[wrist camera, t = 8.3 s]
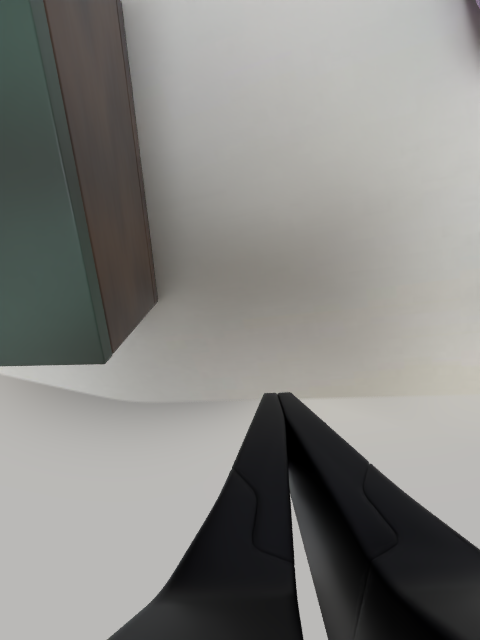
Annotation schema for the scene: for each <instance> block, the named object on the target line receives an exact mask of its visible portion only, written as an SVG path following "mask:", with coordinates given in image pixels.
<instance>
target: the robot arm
mask: <svg viewBox="0 0 480 640" xmlns="http://www.w3.org/2000/svg"><path fill="white" fill-rule="evenodd" d="M290 494H291V498H292V502H293V506H294V510H295V514H296V517H297V521H298V525H299V529H300V533H301V536H302V540H303V544H304V548H305V552H306V555H307V560H308V563H309V567H310V571H311V575H312V578H313V583H314V586H315V590H316V594H317V598H318V602H319V606H320V609H321V613H322V617H323V621H324V625H325V629H326V632H327V636H328V640H480V550H479V549H478V548H477V547H475V546H474V545H473V544H472V543H470V542H469V541H468V540H466V539H465V538H464V537H462V536H461V535H460V534H458V533H457V532H456V531H454V530H453V529H452V528H450V527H449V526H448V525H446V524H445V523H444V522H442V521H441V520H440V519H439V518H437V517H436V516H434V515H433V514H432V513H431V512H429V511H428V510H427V509H425V508H424V507H423V506H421V505H420V504H419V503H417V502H416V501H415V500H414V499H412V498H411V497H410V496H409V495H407V494H406V493H404V491H402V490H401V489H400V488H399V487H397V486H396V485H395V484H394V483H393V482H392V481H390V480H389V479H388V478H387V477H386V476H384V475H383V474H382V473H381V472H380V471H379V470H378V469H376V468H375V467H374V466H373V465H372V464H369V462H368V461H367V460H366V459H365V458H364V457H363V456H362V455H361V454H359V453H358V452H357V451H356V450H355V449H354V448H353V447H352V446H350V445H349V444H348V443H347V442H346V441H345V440H344V439H343V438H341V437H340V436H339V435H338V434H337V433H336V432H335V431H334V430H332V429H331V428H330V427H329V426H328V425H327V424H326V423H325V422H323V421H322V420H321V419H320V418H319V417H318V416H317V415H315V413H313V412H312V411H311V410H310V409H309V408H308V407H307V406H305V405H304V404H303V403H302V402H301V401H300V400H299V399H298V398H297V397H295V396H294V395H293V394H292V393H290V392H285V393H278V395H277V394H276V393H265V394H264V395H263V397H262V399H261V402H260V404H259V407H258V409H257V411H256V413H255V416H254V418H253V420H252V423H251V425H250V427H249V429H248V432H247V434H246V436H245V439H244V441H243V444H242V446H241V448H240V450H239V453H238V455H237V457H236V460H235V462H234V465H233V467H232V470H231V471H230V473H229V476H228V478H227V480H226V483H225V485H224V487H223V489H222V491H221V493H220V495H219V497H218V499H217V501H216V502H215V504H214V506H213V508H212V510H211V511H210V513H209V515H208V517H207V518H206V520H205V522H204V523H203V525H202V527H201V528H200V530H199V532H198V533H197V535H196V537H195V538H194V540H193V541H192V543H191V545H190V547H189V548H188V550H187V551H186V553H185V555H184V556H183V558H182V560H181V561H180V563H179V565H178V566H177V568H176V569H175V571H174V573H173V574H172V576H171V577H170V579H169V580H168V582H167V583H166V585H165V586H164V587H163V589H162V590H161V591H160V592H159V594H158V595H157V596H156V597H155V598H154V599H153V600H152V601H151V602H150V603H149V604H148V605H147V606H146V607H145V608H144V609H143V610H141V611H140V612H139V613H138V614H137V615H135V616H134V617H133V618H132V619H131V620H130V621H128V622H127V623H126V624H125V625H124V626H123V627H121V628H120V629H119V630H118V631H117V632H116V633H114V634H113V635H112V636H111V637H110V638H109V639H107V640H303V634H302V627H301V621H300V615H299V608H298V600H297V590H296V579H295V568H294V550H293V549H294V548H293V533H292V518H291V502H290Z"/></svg>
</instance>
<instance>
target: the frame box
mask: <svg viewBox="0 0 480 640" xmlns="http://www.w3.org/2000/svg"><path fill="white" fill-rule="evenodd" d="M43 3H44V8H45V13H46V18H47V23H48V28H49V34H50V39H51V44H52V49H53V54H54V59H55V64H56V69H57V74H58V80H59V85H60V90H61V95H62V100H63V105H64V110H65V115H66V120H67V126H68V131H69V136H70V141H71V146H72V151H73V156H74V161H75V166H76V171H77V177H78V182H79V187H80V192H81V197H82V202H83V207H84V212H85V217H86V223H87V228H88V233H89V238H90V243H91V248H92V253H93V258H94V263H95V269H96V274H97V279H98V284H99V289H100V294H101V299H102V304H103V309H104V315H105V320H106V325H107V330H108V335H109V340H110V345H111V350H112V354H113V353H114V352H115V351H116V350H117V349H118V347H119V346H120V345H121V344H122V343H123V342H124V340H125V339H126V338H127V337H128V336H129V335H130V333H131V332H132V331H133V330H134V329H135V327H136V326H137V325H138V324H139V323H140V322H141V320H142V319H143V318H144V317H145V316H146V314H147V313H148V312H149V311H150V310H151V309H152V307H153V306H154V305H155V304H156V303H157V302H158V298H157V290H156V282H155V273H154V265H153V257H152V249H151V241H150V233H149V225H148V217H147V208H146V200H145V192H144V184H143V176H142V168H141V160H140V151H139V143H138V135H137V127H136V119H135V111H134V103H133V94H132V86H131V78H130V70H129V62H128V54H127V46H126V38H125V29H124V21H123V13H122V5H121V1H120V0H43Z"/></svg>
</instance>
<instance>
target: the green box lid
mask: <svg viewBox="0 0 480 640" xmlns="http://www.w3.org/2000/svg"><path fill="white" fill-rule="evenodd" d="M111 356H112V350H111V345H110V340H109V335H108V330H107V325H106V320H105V315H104V309H103V304H102V299H101V294H100V289H99V284H98V279H97V274H96V269H95V263H94V258H93V253H92V248H91V243H90V238H89V233H88V228H87V223H86V217H85V212H84V207H83V202H82V197H81V192H80V187H79V182H78V177H77V171H76V166H75V161H74V156H73V151H72V146H71V141H70V136H69V131H68V126H67V120H66V115H65V110H64V105H63V100H62V95H61V90H60V85H59V80H58V74H57V69H56V64H55V59H54V54H53V49H52V44H51V39H50V34H49V28H48V23H47V18H46V13H45V8H44V3H43V0H0V366H34V365H83V364H105V363H106V362H107V361H108V360H109V359H110V358H111Z"/></svg>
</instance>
